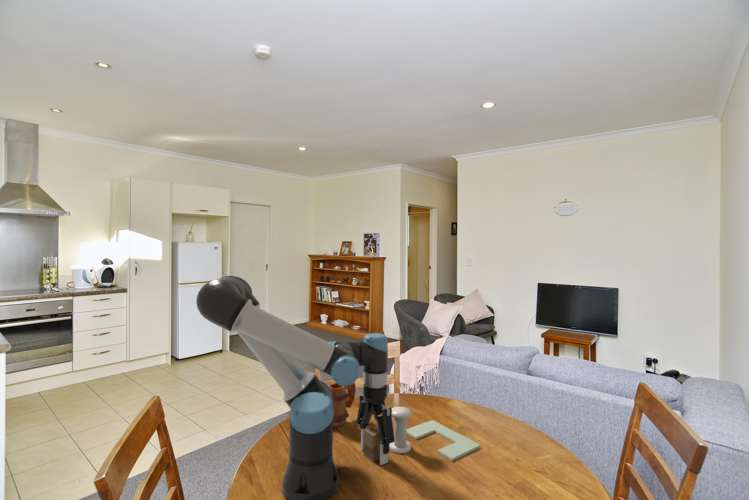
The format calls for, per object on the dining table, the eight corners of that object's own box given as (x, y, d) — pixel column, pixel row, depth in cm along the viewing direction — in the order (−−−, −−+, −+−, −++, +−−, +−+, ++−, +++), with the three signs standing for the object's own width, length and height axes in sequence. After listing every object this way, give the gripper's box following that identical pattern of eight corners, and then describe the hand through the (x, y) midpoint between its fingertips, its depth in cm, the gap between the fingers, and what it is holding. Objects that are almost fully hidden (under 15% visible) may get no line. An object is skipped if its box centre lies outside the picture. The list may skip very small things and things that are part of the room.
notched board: (451, 461, 116) (451, 458, 116) (404, 432, 134) (404, 430, 133) (480, 447, 124) (480, 445, 124) (432, 422, 142) (432, 419, 142)
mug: (335, 432, 133) (336, 389, 133) (319, 425, 138) (319, 384, 138) (361, 417, 144) (362, 378, 144) (345, 411, 149) (346, 373, 149)
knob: (398, 456, 118) (399, 418, 118) (385, 446, 124) (385, 410, 124) (415, 449, 122) (416, 412, 122) (401, 440, 128) (401, 405, 128)
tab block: (372, 462, 115) (372, 435, 115) (363, 455, 118) (364, 430, 118) (383, 457, 117) (384, 431, 117) (375, 450, 121) (375, 426, 121)
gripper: (407, 392, 111) (406, 468, 111) (364, 372, 129) (363, 437, 129) (387, 398, 107) (386, 477, 107) (346, 376, 124) (345, 444, 124)
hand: (374, 455), depth 118 cm, fingers open, 9 cm apart
